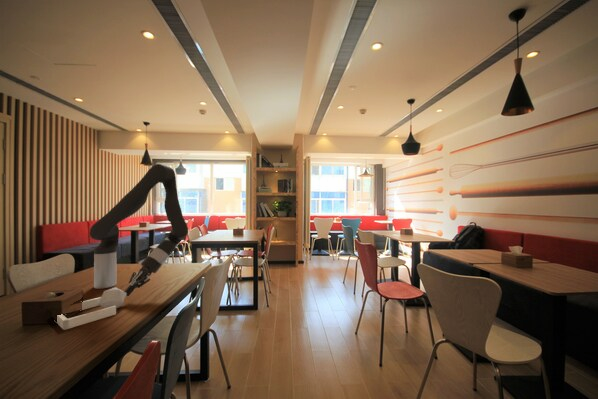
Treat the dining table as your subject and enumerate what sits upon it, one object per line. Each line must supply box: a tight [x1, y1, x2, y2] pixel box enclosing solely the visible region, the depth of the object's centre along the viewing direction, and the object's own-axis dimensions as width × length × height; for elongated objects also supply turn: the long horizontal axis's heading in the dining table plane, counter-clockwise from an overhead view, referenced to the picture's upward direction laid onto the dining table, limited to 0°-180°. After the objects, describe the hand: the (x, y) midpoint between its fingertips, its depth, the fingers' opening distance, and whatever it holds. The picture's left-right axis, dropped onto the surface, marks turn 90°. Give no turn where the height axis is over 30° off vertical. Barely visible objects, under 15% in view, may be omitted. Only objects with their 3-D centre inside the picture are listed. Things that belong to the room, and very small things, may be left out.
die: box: [98, 286, 127, 309], centre depth 103 cm, size 8×9×10 cm
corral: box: [55, 296, 117, 331], centre depth 97 cm, size 17×15×3 cm
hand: (125, 294), depth 108 cm, fingers closed
